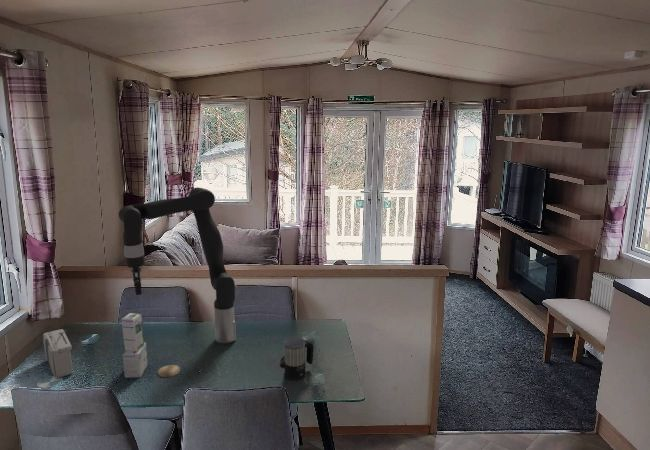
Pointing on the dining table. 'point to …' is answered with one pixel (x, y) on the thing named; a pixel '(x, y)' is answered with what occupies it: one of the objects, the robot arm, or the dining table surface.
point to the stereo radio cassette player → (58, 352)
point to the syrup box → (133, 332)
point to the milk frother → (296, 357)
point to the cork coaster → (168, 371)
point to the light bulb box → (135, 362)
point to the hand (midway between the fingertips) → (138, 290)
